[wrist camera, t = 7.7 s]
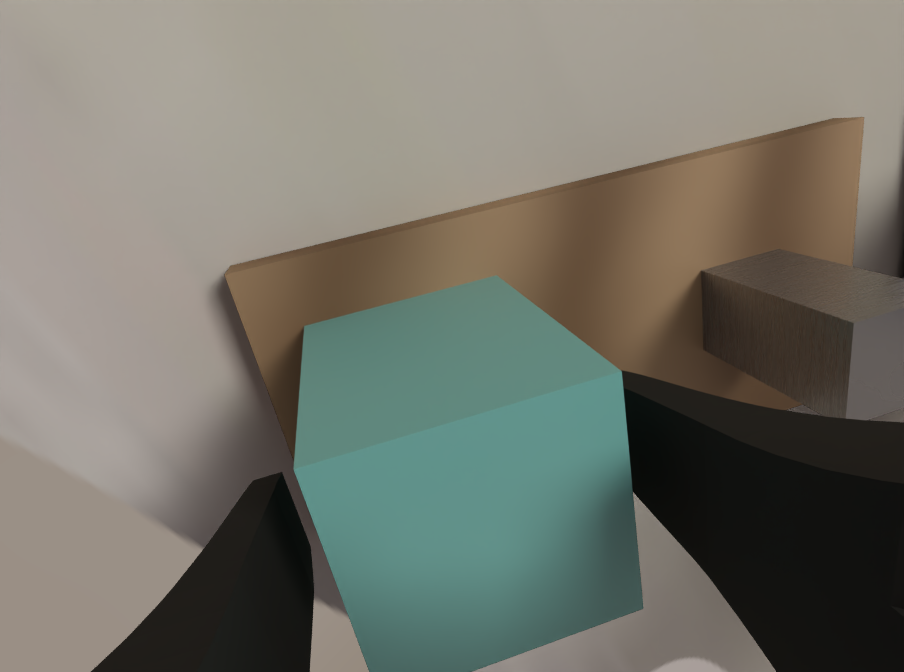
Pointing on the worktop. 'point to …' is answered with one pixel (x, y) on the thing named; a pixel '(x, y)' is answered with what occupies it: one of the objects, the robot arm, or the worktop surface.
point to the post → (810, 330)
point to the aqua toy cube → (466, 477)
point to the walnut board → (583, 257)
